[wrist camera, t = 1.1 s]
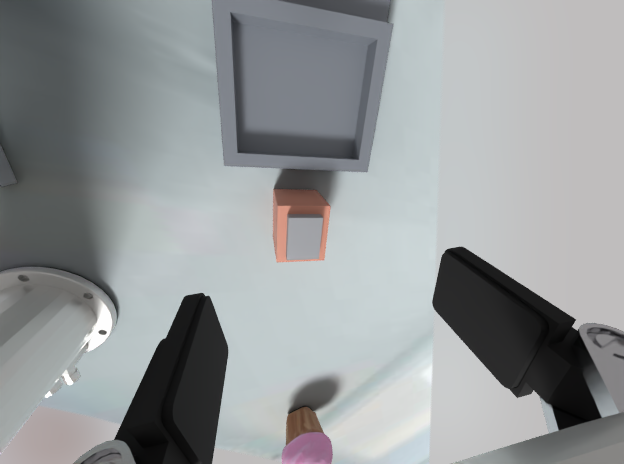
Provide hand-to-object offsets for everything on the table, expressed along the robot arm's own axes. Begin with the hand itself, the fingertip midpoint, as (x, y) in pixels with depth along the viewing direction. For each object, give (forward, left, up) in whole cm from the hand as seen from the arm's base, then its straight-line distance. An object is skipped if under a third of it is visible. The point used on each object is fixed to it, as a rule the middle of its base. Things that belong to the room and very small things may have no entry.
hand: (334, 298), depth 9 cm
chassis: (+13, -1, -19) cm, 23 cm away
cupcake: (-46, -5, -20) cm, 50 cm away
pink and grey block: (-4, -1, -19) cm, 20 cm away
